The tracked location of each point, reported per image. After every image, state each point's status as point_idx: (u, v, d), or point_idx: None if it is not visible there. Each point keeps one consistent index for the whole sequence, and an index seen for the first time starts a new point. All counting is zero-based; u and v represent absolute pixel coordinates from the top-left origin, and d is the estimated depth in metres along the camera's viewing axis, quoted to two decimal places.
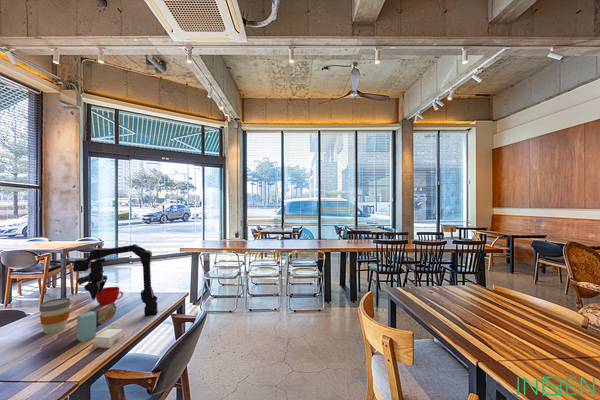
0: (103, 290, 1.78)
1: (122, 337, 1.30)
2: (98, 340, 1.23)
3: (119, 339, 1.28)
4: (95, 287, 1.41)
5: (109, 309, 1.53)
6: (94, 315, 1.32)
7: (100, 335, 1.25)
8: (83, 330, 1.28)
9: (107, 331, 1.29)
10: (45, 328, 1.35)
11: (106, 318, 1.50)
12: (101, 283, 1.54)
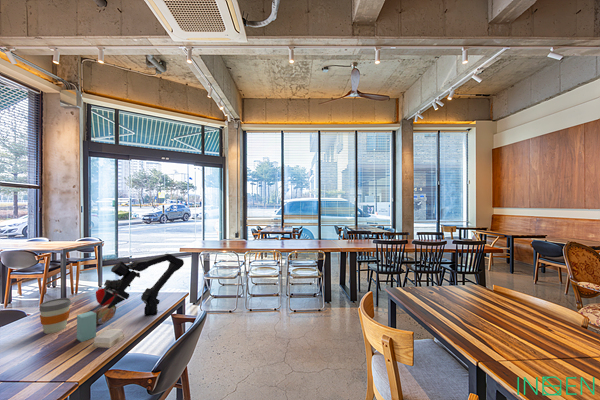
0: (103, 290, 1.78)
1: (122, 337, 1.30)
2: (98, 340, 1.23)
3: (119, 339, 1.28)
4: (126, 297, 1.40)
5: (109, 309, 1.53)
6: (94, 315, 1.32)
7: (100, 335, 1.25)
8: (83, 330, 1.28)
9: (107, 331, 1.29)
10: (45, 328, 1.35)
11: (106, 318, 1.50)
12: (110, 294, 1.46)
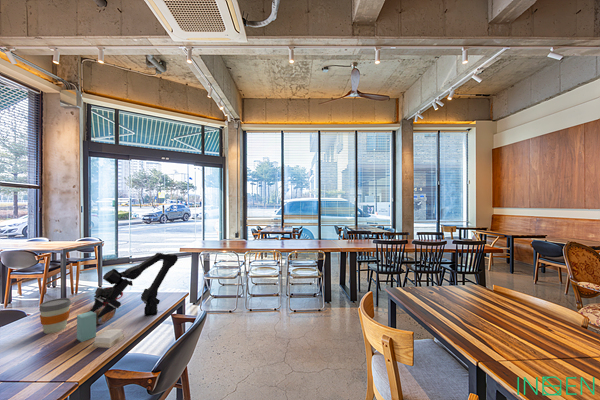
0: None
1: (122, 337, 1.30)
2: (98, 341, 1.23)
3: (119, 339, 1.28)
4: (118, 306, 1.36)
5: None
6: (94, 315, 1.32)
7: (100, 335, 1.25)
8: (83, 330, 1.28)
9: (107, 331, 1.29)
10: (45, 328, 1.35)
11: (106, 318, 1.50)
12: (101, 303, 1.41)
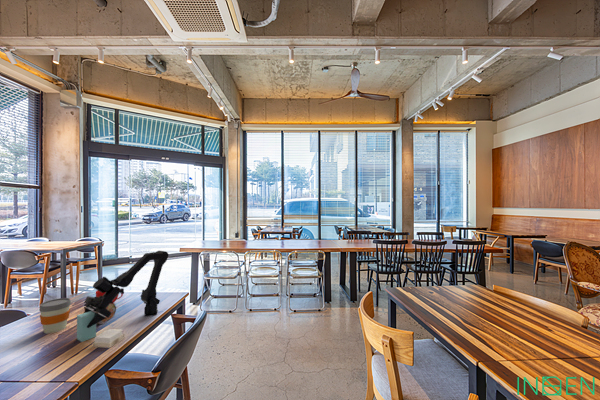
0: None
1: (122, 337, 1.30)
2: (98, 340, 1.23)
3: (119, 339, 1.28)
4: (108, 316, 1.32)
5: (109, 309, 1.53)
6: None
7: (100, 335, 1.25)
8: (83, 330, 1.28)
9: (107, 331, 1.29)
10: (45, 328, 1.35)
11: (106, 318, 1.50)
12: None
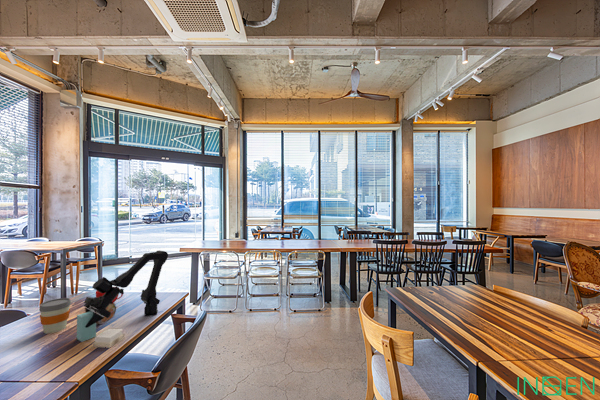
0: None
1: (122, 337, 1.30)
2: (98, 340, 1.23)
3: (119, 339, 1.28)
4: (108, 316, 1.32)
5: (109, 309, 1.53)
6: None
7: (100, 335, 1.25)
8: (83, 330, 1.28)
9: (107, 331, 1.29)
10: (45, 328, 1.35)
11: (106, 318, 1.50)
12: None
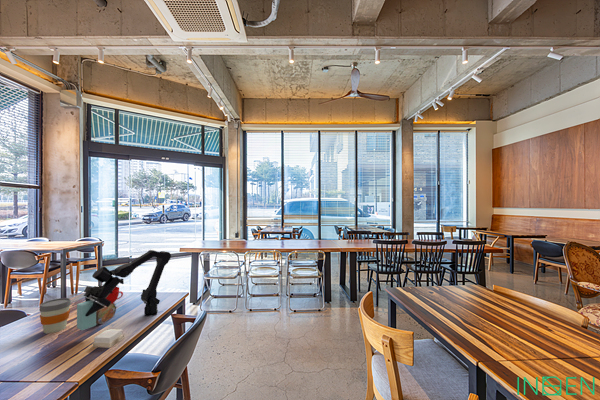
0: None
1: (122, 337, 1.30)
2: (98, 340, 1.23)
3: (119, 339, 1.28)
4: (108, 305, 1.32)
5: (109, 309, 1.53)
6: None
7: (100, 335, 1.25)
8: (83, 318, 1.28)
9: (106, 331, 1.29)
10: (45, 328, 1.35)
11: (106, 318, 1.50)
12: None
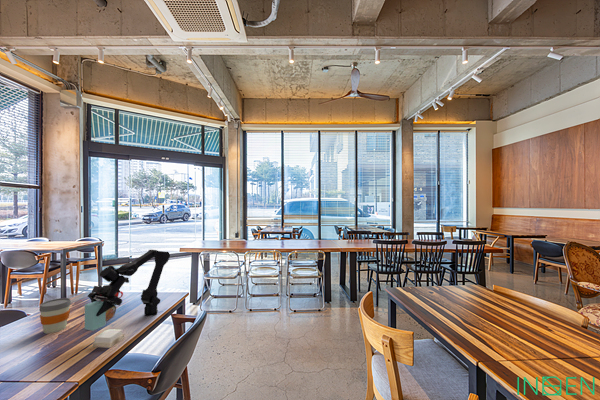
0: None
1: (122, 337, 1.30)
2: (98, 340, 1.23)
3: (119, 339, 1.28)
4: (120, 303, 1.31)
5: (109, 309, 1.53)
6: None
7: (100, 335, 1.25)
8: (94, 318, 1.25)
9: (106, 331, 1.29)
10: (45, 328, 1.35)
11: (106, 318, 1.50)
12: None
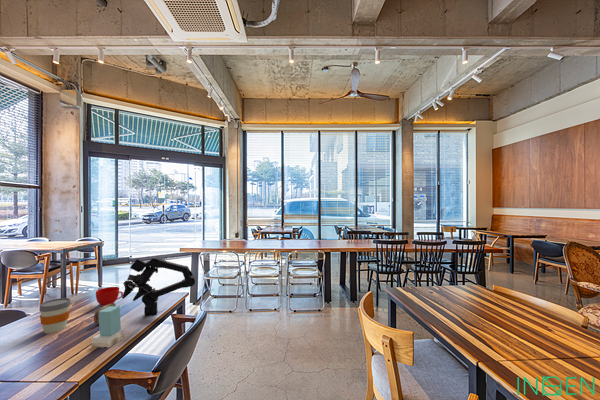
0: (103, 290, 1.78)
1: (121, 337, 1.30)
2: (96, 340, 1.23)
3: (118, 339, 1.28)
4: (150, 290, 1.51)
5: None
6: (118, 308, 1.29)
7: (98, 335, 1.25)
8: (111, 323, 1.25)
9: None
10: (45, 328, 1.35)
11: None
12: (130, 289, 1.54)
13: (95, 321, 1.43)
